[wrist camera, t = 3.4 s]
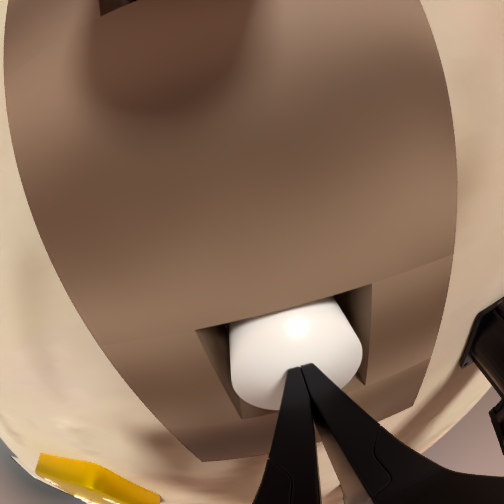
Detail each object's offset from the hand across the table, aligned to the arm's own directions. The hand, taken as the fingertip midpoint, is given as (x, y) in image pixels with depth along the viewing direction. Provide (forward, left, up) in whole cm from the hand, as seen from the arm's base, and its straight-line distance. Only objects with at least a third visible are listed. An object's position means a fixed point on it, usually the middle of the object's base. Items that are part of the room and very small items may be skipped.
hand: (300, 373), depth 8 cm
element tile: (-27, +31, -5) cm, 41 cm away
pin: (0, 0, -4) cm, 4 cm away
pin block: (+7, 0, -4) cm, 8 cm away
